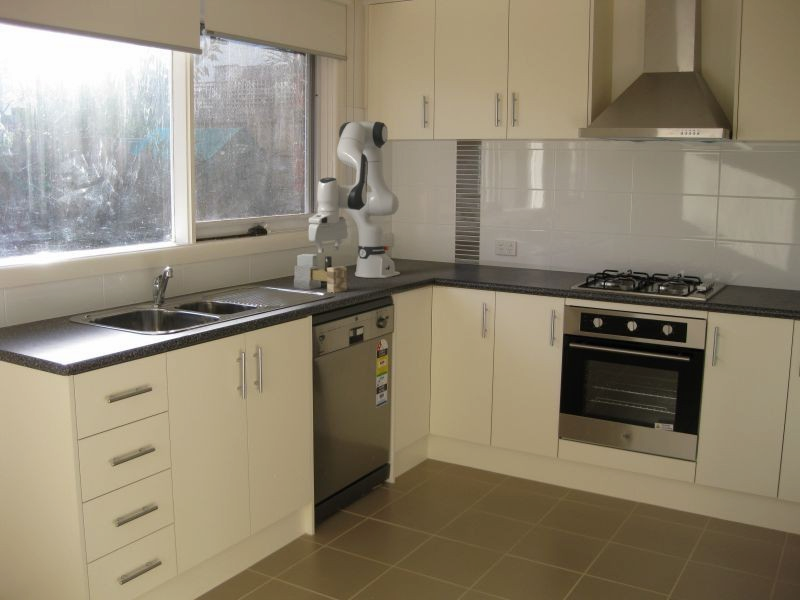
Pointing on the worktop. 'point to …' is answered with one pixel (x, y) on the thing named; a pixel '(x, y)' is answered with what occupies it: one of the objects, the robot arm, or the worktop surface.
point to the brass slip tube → (322, 274)
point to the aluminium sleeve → (305, 277)
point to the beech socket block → (337, 279)
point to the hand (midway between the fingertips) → (328, 251)
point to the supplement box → (307, 259)
